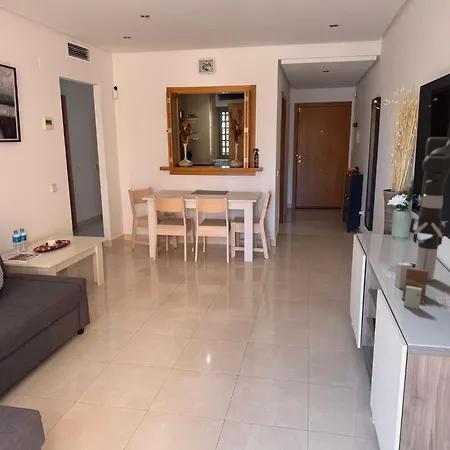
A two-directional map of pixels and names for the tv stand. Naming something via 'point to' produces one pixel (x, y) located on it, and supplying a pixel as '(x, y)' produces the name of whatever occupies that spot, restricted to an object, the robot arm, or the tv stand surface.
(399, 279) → the skincare box
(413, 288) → the door
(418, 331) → the tv stand surface
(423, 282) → the cabinet
